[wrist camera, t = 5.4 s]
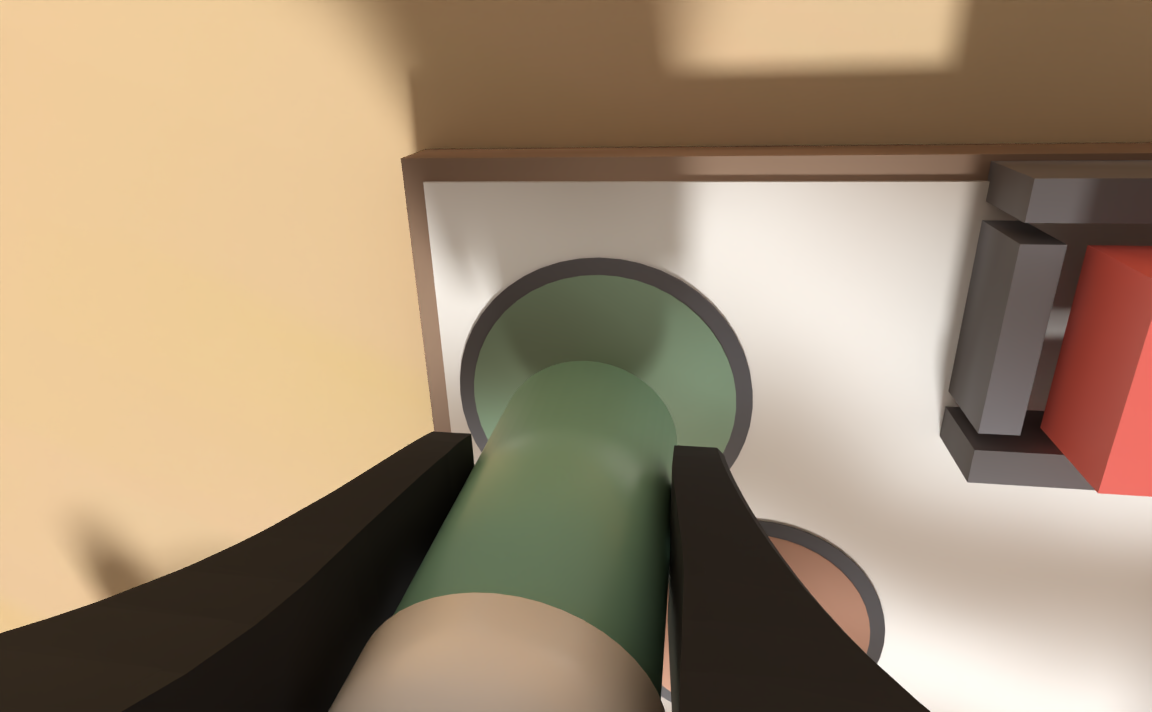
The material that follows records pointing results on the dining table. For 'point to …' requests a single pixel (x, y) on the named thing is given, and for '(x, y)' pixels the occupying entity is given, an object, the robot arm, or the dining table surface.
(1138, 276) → the button
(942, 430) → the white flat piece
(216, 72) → the dining table surface
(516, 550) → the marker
